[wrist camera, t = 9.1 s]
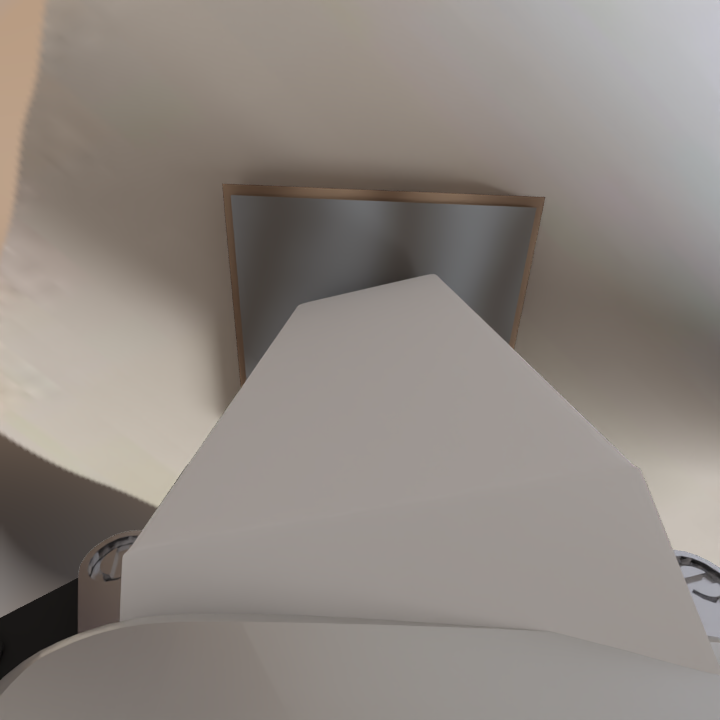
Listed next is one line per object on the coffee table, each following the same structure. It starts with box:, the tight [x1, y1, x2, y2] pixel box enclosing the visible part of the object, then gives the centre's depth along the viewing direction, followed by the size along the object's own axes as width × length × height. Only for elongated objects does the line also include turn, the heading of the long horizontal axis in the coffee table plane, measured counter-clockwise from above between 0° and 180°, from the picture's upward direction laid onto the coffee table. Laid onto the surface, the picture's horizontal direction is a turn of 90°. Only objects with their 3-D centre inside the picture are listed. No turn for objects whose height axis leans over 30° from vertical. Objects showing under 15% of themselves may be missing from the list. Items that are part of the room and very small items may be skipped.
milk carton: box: [120, 274, 720, 675], centre depth 11 cm, size 7×7×19 cm
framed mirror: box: [222, 184, 545, 387], centre depth 23 cm, size 16×16×3 cm
